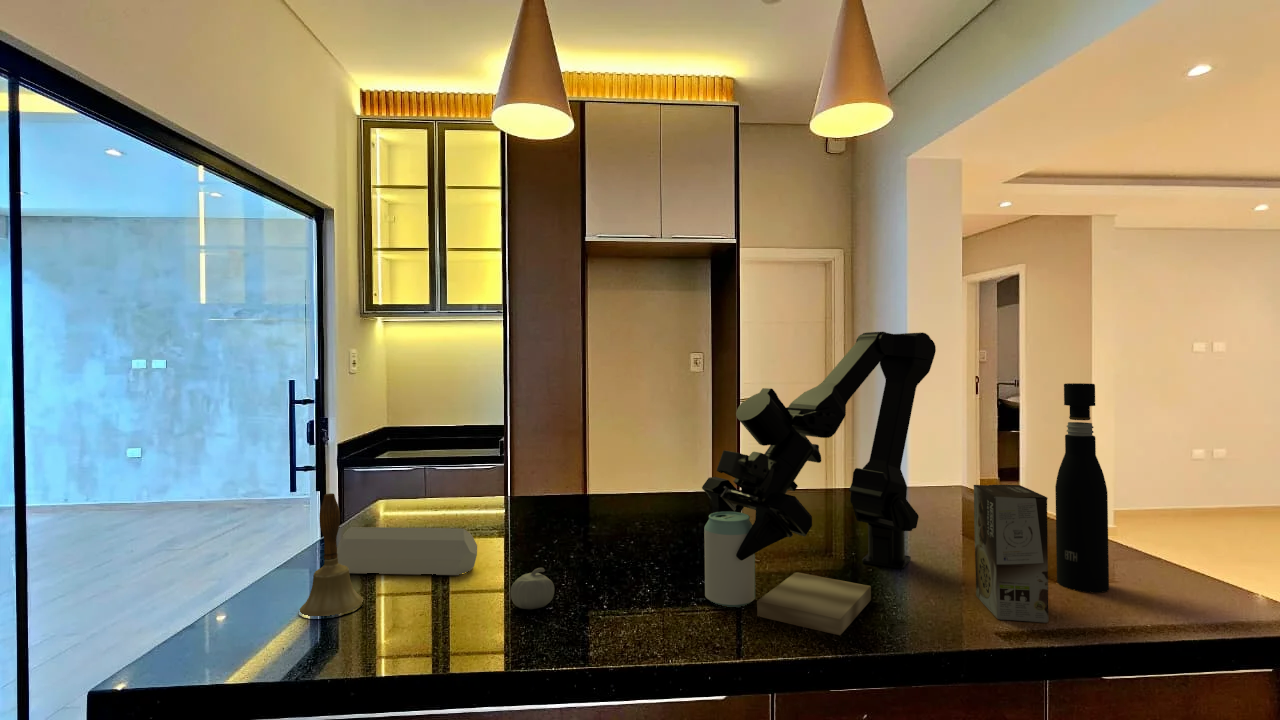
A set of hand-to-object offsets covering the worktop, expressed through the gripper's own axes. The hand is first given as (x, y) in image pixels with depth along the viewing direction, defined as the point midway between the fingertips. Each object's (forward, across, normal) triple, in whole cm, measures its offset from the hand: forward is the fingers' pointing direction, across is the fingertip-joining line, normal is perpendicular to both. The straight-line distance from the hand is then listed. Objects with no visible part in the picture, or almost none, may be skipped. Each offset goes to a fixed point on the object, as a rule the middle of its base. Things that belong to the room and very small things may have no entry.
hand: (721, 551), depth 89 cm
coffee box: (-17, +22, +28) cm, 39 cm away
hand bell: (+39, -27, -28) cm, 55 cm away
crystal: (+30, -39, -20) cm, 53 cm away
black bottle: (-30, +23, +40) cm, 55 cm away
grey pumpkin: (+22, -13, -11) cm, 28 cm away
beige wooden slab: (-1, +8, +12) cm, 15 cm away
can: (+4, 0, +6) cm, 7 cm away
